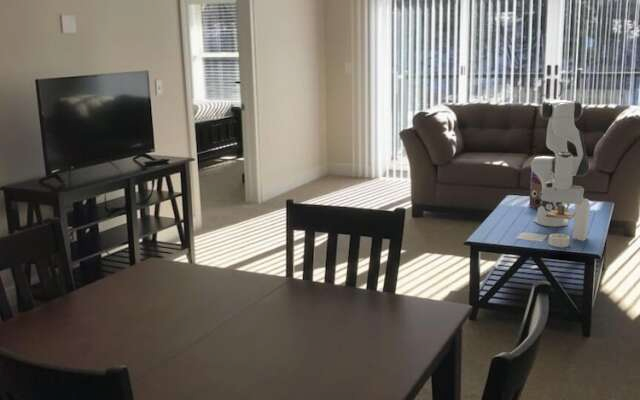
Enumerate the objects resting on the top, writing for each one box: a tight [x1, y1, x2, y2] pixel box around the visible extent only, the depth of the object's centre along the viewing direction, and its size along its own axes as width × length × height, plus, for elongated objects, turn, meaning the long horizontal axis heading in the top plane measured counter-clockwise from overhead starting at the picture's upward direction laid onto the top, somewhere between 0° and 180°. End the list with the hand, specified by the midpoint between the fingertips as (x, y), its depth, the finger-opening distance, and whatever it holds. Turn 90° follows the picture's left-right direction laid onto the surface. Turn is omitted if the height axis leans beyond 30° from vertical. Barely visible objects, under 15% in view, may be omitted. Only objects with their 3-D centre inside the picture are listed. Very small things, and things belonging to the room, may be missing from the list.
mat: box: [515, 231, 549, 243], centre depth 372 cm, size 14×14×1 cm
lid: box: [546, 204, 575, 220], centre depth 353 cm, size 12×12×5 cm
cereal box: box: [528, 169, 554, 209], centre depth 436 cm, size 17×5×24 cm, turn 58°
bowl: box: [548, 233, 571, 248], centre depth 357 cm, size 10×10×5 cm
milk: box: [572, 198, 591, 242], centre depth 366 cm, size 6×6×22 cm
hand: (561, 210), depth 353 cm, fingers closed on lid, 3 cm apart
